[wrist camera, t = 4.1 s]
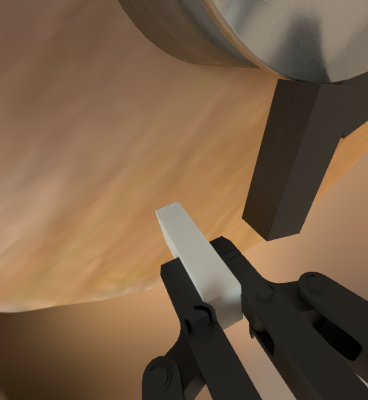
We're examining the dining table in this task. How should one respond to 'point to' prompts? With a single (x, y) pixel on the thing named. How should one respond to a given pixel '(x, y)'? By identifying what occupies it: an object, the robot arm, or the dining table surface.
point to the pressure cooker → (211, 43)
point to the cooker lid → (296, 95)
